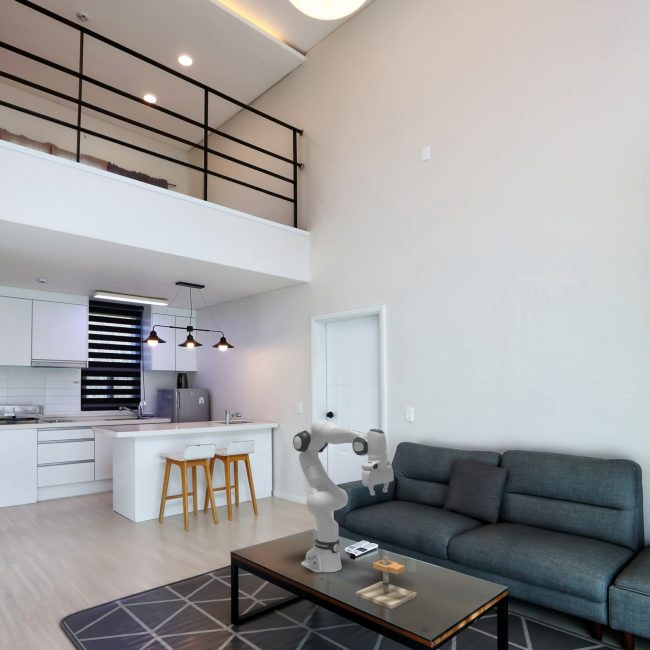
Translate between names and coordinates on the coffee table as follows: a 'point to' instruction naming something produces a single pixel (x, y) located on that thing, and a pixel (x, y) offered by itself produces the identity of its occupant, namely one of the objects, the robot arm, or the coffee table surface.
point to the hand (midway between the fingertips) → (378, 493)
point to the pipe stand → (386, 592)
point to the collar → (389, 567)
